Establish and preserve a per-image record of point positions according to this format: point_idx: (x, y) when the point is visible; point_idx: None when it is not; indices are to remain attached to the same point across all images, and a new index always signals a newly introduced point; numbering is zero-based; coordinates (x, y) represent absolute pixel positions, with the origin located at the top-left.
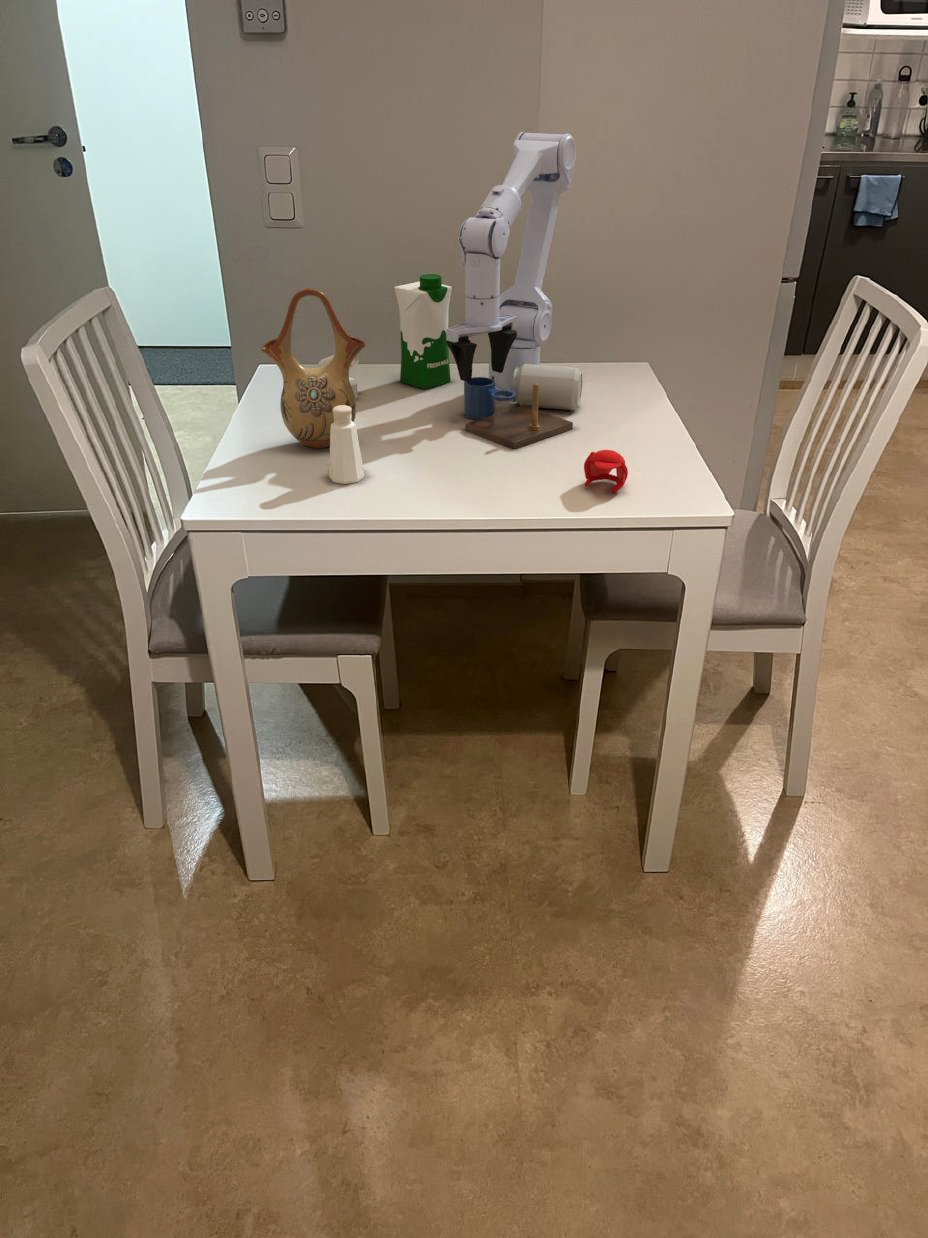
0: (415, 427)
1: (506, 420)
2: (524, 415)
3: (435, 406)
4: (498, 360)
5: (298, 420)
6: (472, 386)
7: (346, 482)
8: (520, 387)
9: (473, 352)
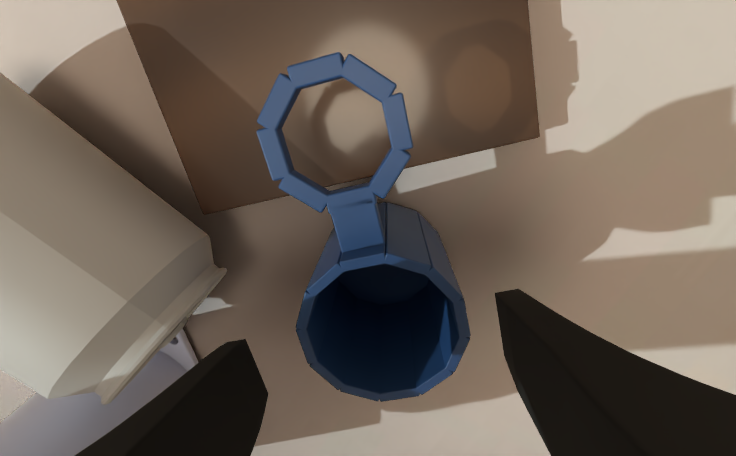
0: (666, 255)
1: None
2: (252, 97)
3: (472, 390)
4: (218, 414)
5: None
6: (458, 290)
7: None
8: (175, 249)
9: (659, 433)
